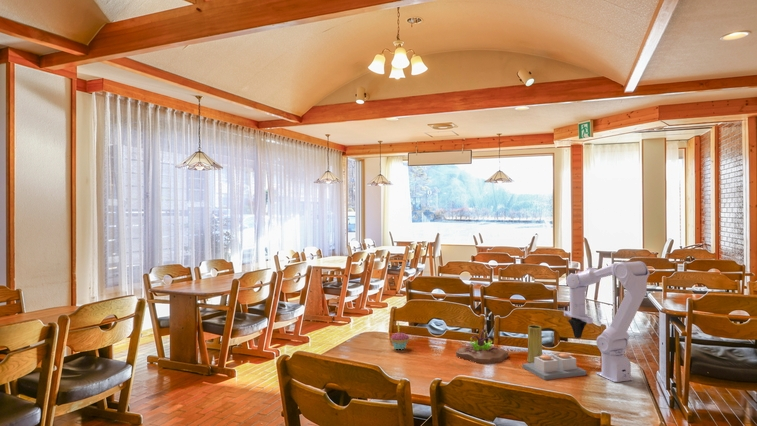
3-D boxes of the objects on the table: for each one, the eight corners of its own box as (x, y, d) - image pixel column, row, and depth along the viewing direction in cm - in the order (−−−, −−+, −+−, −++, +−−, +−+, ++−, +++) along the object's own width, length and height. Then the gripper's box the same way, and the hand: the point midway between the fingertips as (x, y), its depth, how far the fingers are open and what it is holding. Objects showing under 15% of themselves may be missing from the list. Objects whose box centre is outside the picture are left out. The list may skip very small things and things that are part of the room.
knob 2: (571, 368, 173) (571, 355, 174) (563, 368, 172) (563, 356, 173) (565, 364, 177) (565, 352, 177) (556, 365, 176) (556, 353, 176)
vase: (525, 362, 185) (525, 327, 185) (528, 358, 190) (528, 324, 191) (541, 364, 182) (541, 329, 182) (544, 360, 188) (543, 325, 188)
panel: (586, 375, 170) (586, 360, 170) (544, 379, 166) (544, 364, 166) (562, 363, 184) (561, 349, 184) (522, 367, 179) (522, 353, 179)
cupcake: (387, 347, 208) (387, 321, 208) (403, 345, 212) (403, 319, 212) (396, 352, 200) (395, 325, 200) (413, 350, 204) (412, 323, 204)
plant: (516, 357, 193) (515, 330, 193) (487, 367, 181) (487, 338, 181) (478, 347, 209) (478, 322, 209) (449, 355, 197) (449, 329, 197)
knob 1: (553, 370, 171) (553, 357, 171) (544, 371, 170) (544, 358, 170) (547, 366, 175) (547, 354, 175) (538, 367, 174) (538, 355, 174)
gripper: (599, 306, 178) (599, 341, 178) (573, 299, 192) (574, 332, 192) (583, 307, 176) (584, 342, 176) (559, 300, 190) (559, 333, 190)
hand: (577, 337), depth 184 cm, fingers closed
